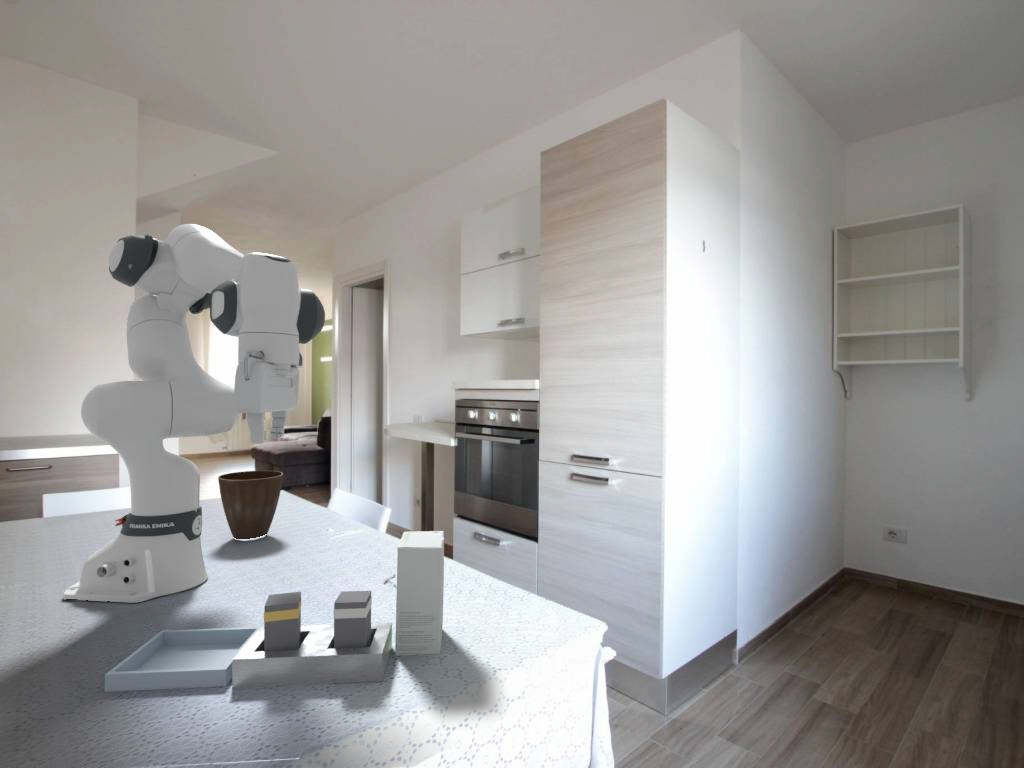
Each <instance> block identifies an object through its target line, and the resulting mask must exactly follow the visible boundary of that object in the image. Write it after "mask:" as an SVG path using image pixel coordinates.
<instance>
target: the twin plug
mask: <svg viewBox="0 0 1024 768" xmlns="http://www.w3.org/2000/svg"><path fill="white" fill-rule="evenodd" d="M372 596H373V595H372V590H356V591H355V590H353V591H352V590H349V591H348V590H345V591H340V593H339V595H338V596H337V597H336V600H335V601H334V603H333V606H334V607H333V625H334V648H359V647H370V646H371V623H372V604H373V603H372V601H373V600H372V599H373V597H372Z"/></svg>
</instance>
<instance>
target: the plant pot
mask: <svg viewBox="0 0 1024 768" xmlns="http://www.w3.org/2000/svg"><path fill="white" fill-rule="evenodd" d="M283 478H284V473H283V471H282V472H281V471H277V470H247V471H246V470H245V471H235V472H229V473H225V474H221V475H219V476H218V478H217V479H218V486H219V494H220V498H221V499H220V500H221V504H222V507H223V511H224V515H225V518H226V522H227V525H228V527H229V530H230V532H231V535H232V537H234V538H236V539H250V538H256V537H260V536H263V535H265V534H267V535H268V533H269V530H270V528H271V525H272V522H273V519H274V516H275V514H276V510H277V507H278V503H279V499H280V496H281V490H282V485H283ZM234 538H233V539H234Z"/></svg>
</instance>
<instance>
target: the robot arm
mask: <svg viewBox="0 0 1024 768" xmlns="http://www.w3.org/2000/svg"><path fill="white" fill-rule="evenodd" d="M153 237H154V236H153V234H145V235H133V234H132V235H127V236H124V237H121V238H119V239H118V241H117V242H116V243H115V244H114V245H113V246H112V248H111V250H110V252H109V255H108V271H109V274H110V275H111V277H112V278H113V280H115V281H117V282H119V283H121V284H123V285H125V286H127V287H129V288H131V287H134V288H136V289H138V290H141V291H143V292H145V293H148V294H144V295H142V296H139V297H137V298H136V299H135V300H134V301H133V302H132V303H131V305H130V308H129V312H128V316H127V319H126V320H127V322H126V345H127V359H128V365H129V368H130V369H131V371H132V372H133V373H134V375H136V377H138V379H140V380H122V381H116V382H115V381H114V382H108V383H103V384H97V385H96V386H94V387H93V388H91V390H89V392H88V393H87V394H86V395H85V396H84V398H83V402H82V404H81V407H80V410H81V411H80V415H81V419H82V422H83V424H84V426H85V427H86V429H87V430H88V431H89V432H90V433H91V434H92V435H93V436H95V437H96V438H98V439H100V440H102V441H103V442H105V443H106V444H107V445H109V446H110V447H112V448H113V449H114V451H116V452H117V454H118V455H119V456H120V458H121V460H122V461H123V462H124V464H125V467H126V469H127V472H128V476H129V486H130V488H129V489H130V512H129V513H128V514H126V515H124V516H122V517H120V518H119V519H116V520H115V521H114V522H117V523H116V524H115V525H114V526H115V527H118V526H121V530H119V532H120V533H119V534H118V535H116V536H115V537H114V538H112V539H111V540H109V541H108V542H107V543H106V544H104V545H102V547H100V548H99V549H97V550H96V551H95V552H93V553H92V554H90V555H89V556H88V557H87V558H86V559H85V561H84V563H83V566H82V568H81V572H80V577H79V581H78V582H75V583H74V584H73V585H70V586H69V587H68V588H67V589H65V591H64V593H63V595H62V596H63V597H62V599H63V598H65V599H64V600H66V599H78V600H77V601H86V600H88V601H90V602H107V601H110V603H131V604H132V603H133V604H135V603H142V602H144V601H148V600H151V599H154V598H158V597H161V596H168V595H171V594H176V593H178V592H183V591H187V590H189V589H193V588H194V587H197V586H199V585H201V584H202V583H204V582H205V581H207V580H208V578H209V574H208V572H207V569H206V565H205V562H204V556H203V550H202V542H201V540H202V539H201V535H202V532H203V531H202V530H203V519H202V518H203V512H202V511H203V510H202V506H201V505H200V487H201V486H200V484H201V483H200V481H201V480H200V478H201V477H200V476H201V473H200V470H199V467H198V466H197V464H195V463H194V462H193V461H192V460H190V459H187V458H185V457H183V456H180V455H178V454H174V453H172V452H169V451H167V450H166V449H165V447H164V442H163V441H164V440H165V439H176V438H193V437H195V438H196V437H207V436H214V435H217V434H218V435H219V434H223V433H226V432H230V431H232V429H234V427H235V426H236V425H237V424H238V422H239V420H240V417H241V415H242V414H246V423H247V425H248V429H249V432H250V434H249V435H250V438H249V439H250V443H251V444H258V445H259V444H263V443H266V441H267V430H265V422H264V421H266V420H265V419H266V417H265V416H266V413H271V417H272V422H271V427H270V438H271V439H282V438H284V436H285V427H286V422H287V418H288V411H293V410H295V409H296V408H297V404H298V399H299V389H300V388H299V386H300V370H299V369H301V368H303V366H304V359H303V354H301V352H300V351H301V350H300V346H299V345H300V344H303V345H305V344H307V343H309V342H311V341H312V340H313V339H314V338H315V337H317V336H318V335H319V334H320V333H321V331H322V330H323V328H324V326H325V321H326V313H325V307H324V306H323V303H322V302H321V300H320V299H319V296H317V294H316V293H315V292H314V291H313V290H311V289H307V288H306V289H305V288H300V287H299V278H298V272H297V267H296V264H295V262H294V261H292V260H291V259H290V258H287V257H284V256H281V255H275V254H269V253H262V252H257V251H255V252H249V253H246V254H243V253H242V252H240V251H239V250H237V248H234V247H233V246H232V245H230V244H229V243H227V242H226V240H224V239H223V238H222V237H221V236H220V235H218V234H217V233H216V232H214V231H212V230H211V229H209V228H206V227H205V226H201V225H199V224H195V223H185V224H181V225H178V226H176V227H174V228H173V229H172V230H171V231H170V232H169V234H168V235H167V237H166V239H165V240H158V239H157V238H153ZM208 309H209V319H210V322H212V324H213V325H214V327H216V329H217V330H218V331H219V332H221V333H222V334H223V335H227V336H230V337H238V343H237V344H238V347H237V349H238V351H237V355H238V357H237V362H238V365H237V366H236V371H235V378H234V388H233V387H231V386H230V385H227V384H225V383H223V382H221V381H220V380H218V379H216V378H214V377H213V376H212V375H210V374H209V373H207V372H206V371H205V370H204V369H203V368H202V367H201V366H200V365H199V364H198V362H197V361H196V359H195V355H194V352H193V350H192V346H191V339H190V335H189V334H190V333H189V329H188V325H187V313H188V311H189V312H190V313H191V314H192V315H198V314H200V313H202V312H203V311H204V310H208Z"/></svg>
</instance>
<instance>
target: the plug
mask: <svg viewBox="0 0 1024 768" xmlns="http://www.w3.org/2000/svg"><path fill="white" fill-rule="evenodd" d="M301 611H302V592H301V591H294V592H292V591H291V592H284V593H273V594H269V595H268V597H267V599H266V602H265V604H264V611H263V623H264V625H263V627H264V651H285V650H298V649H299V647H300V644H301V626H302V624H301V623H302V621H301V620H302V612H301Z"/></svg>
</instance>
